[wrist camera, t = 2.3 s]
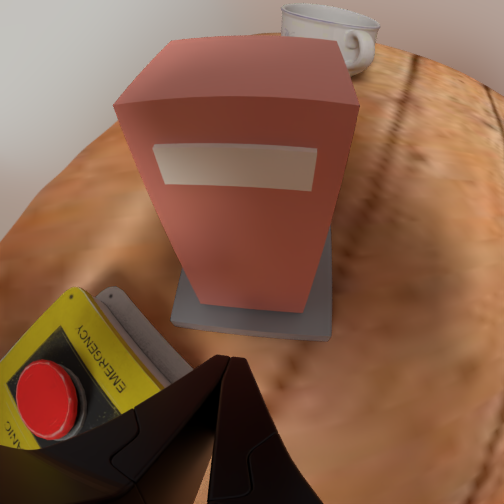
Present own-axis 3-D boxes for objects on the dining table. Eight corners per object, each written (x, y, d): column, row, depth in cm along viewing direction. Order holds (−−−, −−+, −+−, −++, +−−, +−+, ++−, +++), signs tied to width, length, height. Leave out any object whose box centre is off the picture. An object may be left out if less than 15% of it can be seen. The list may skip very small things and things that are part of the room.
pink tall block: (302, 316, 14) (360, 109, 5) (200, 306, 15) (109, 108, 5) (305, 243, 16) (336, 40, 7) (214, 236, 17) (171, 40, 7)
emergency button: (207, 388, 10) (17, 542, 5) (222, 396, 14) (60, 530, 9) (85, 246, 14) (-54, 405, 8) (118, 283, 18) (-11, 417, 12)
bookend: (327, 341, 15) (369, 283, 9) (175, 326, 16) (122, 262, 10) (324, 163, 21) (337, 81, 15) (217, 157, 22) (204, 76, 16)
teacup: (276, 52, 33) (276, -1, 26) (355, 57, 33) (362, 6, 26) (290, 102, 26) (293, 26, 19) (393, 108, 26) (410, 42, 19)
